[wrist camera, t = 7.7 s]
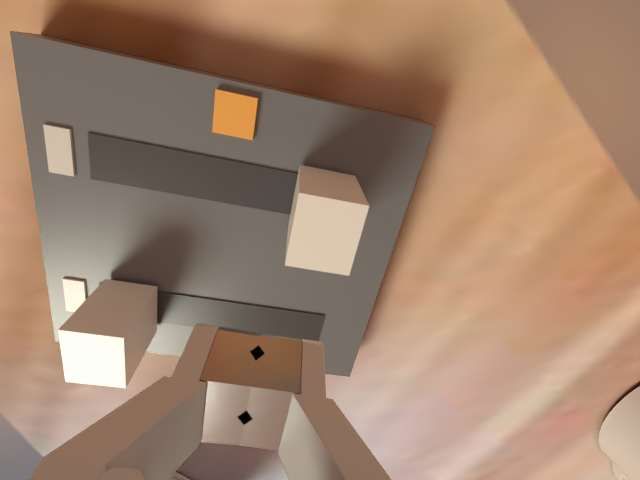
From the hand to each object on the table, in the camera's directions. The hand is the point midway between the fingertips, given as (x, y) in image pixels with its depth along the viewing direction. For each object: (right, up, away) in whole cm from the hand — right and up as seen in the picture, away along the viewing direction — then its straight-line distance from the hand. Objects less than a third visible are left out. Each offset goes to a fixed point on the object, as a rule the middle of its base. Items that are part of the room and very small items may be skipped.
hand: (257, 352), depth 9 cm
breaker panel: (-4, +3, +14) cm, 15 cm away
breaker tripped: (+2, +5, +11) cm, 12 cm away
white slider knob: (-10, -1, +13) cm, 17 cm away
